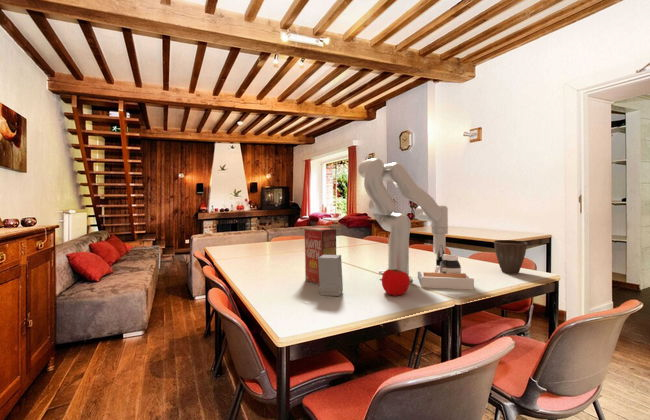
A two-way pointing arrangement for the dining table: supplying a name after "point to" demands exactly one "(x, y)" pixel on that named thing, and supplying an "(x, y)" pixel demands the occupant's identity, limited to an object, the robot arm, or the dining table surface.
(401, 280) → the tomato
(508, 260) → the plant pot
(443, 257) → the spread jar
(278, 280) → the dining table surface
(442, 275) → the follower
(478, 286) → the dining table surface
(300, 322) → the dining table surface
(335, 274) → the skincare box
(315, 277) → the food packaging
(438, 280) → the white rectangular tray
